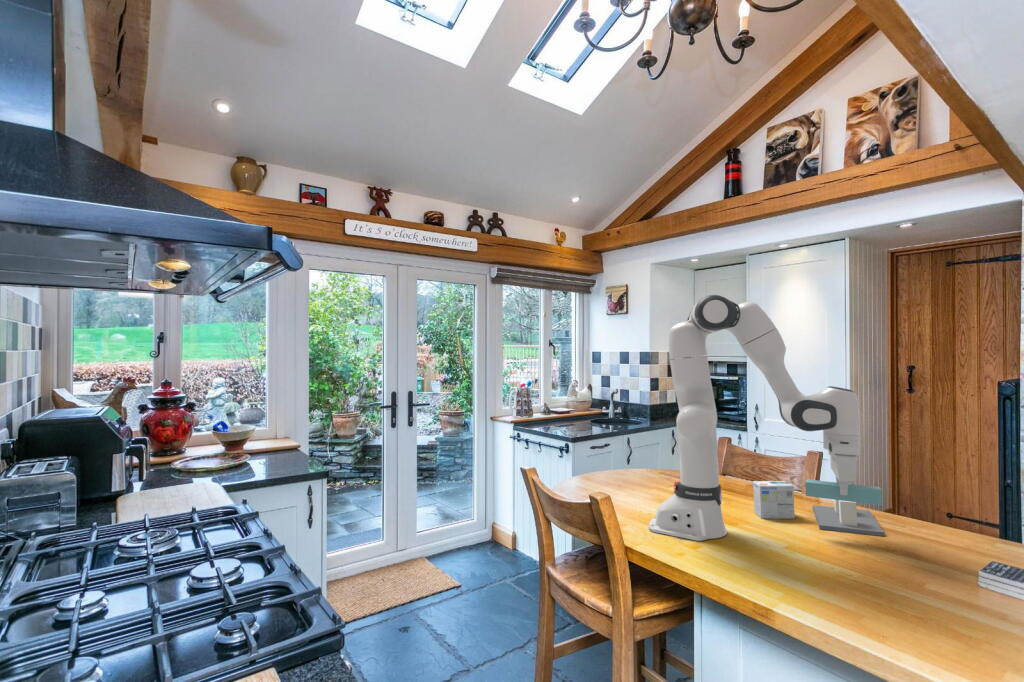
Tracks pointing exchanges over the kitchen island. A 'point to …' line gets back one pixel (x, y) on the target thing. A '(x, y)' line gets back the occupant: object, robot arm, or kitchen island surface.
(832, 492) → the beam
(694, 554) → the kitchen island surface
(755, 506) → the light bulb box
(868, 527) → the board
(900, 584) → the kitchen island surface
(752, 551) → the kitchen island surface
